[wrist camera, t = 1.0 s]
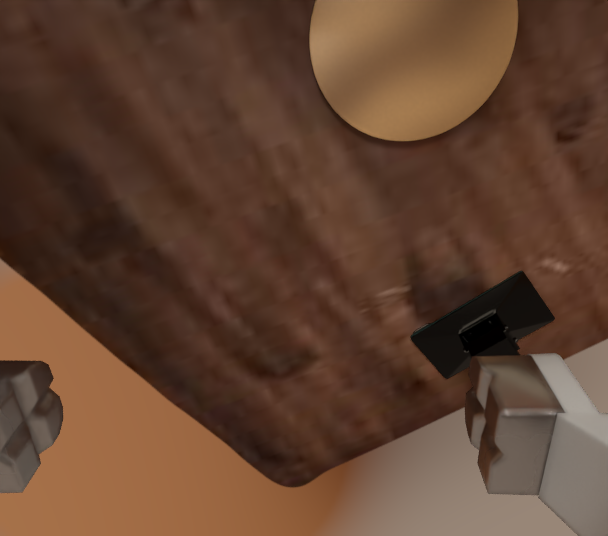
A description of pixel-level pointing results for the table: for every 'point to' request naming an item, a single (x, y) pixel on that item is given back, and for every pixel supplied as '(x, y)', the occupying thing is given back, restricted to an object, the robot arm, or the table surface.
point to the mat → (410, 61)
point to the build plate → (484, 326)
